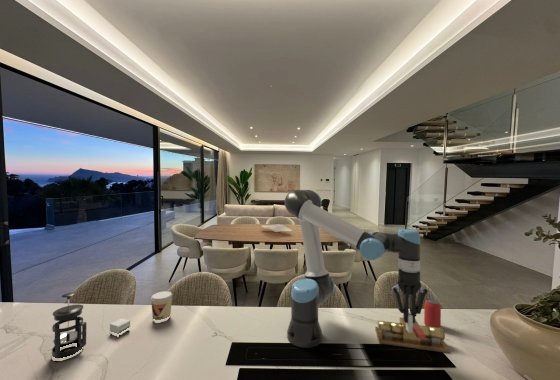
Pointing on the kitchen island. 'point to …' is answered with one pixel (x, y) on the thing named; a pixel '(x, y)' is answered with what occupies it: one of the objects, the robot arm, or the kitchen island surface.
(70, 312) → the french press
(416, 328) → the lever
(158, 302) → the coffee cup
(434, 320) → the beer can
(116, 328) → the small box
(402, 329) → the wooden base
